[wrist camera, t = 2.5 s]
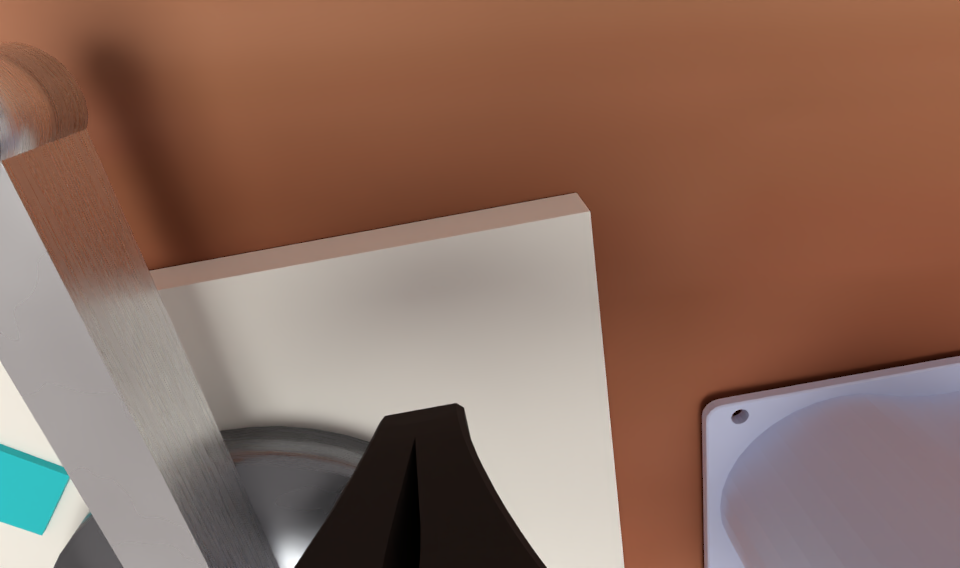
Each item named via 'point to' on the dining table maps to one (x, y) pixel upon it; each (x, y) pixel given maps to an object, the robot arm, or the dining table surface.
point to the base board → (389, 365)
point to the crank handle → (130, 366)
